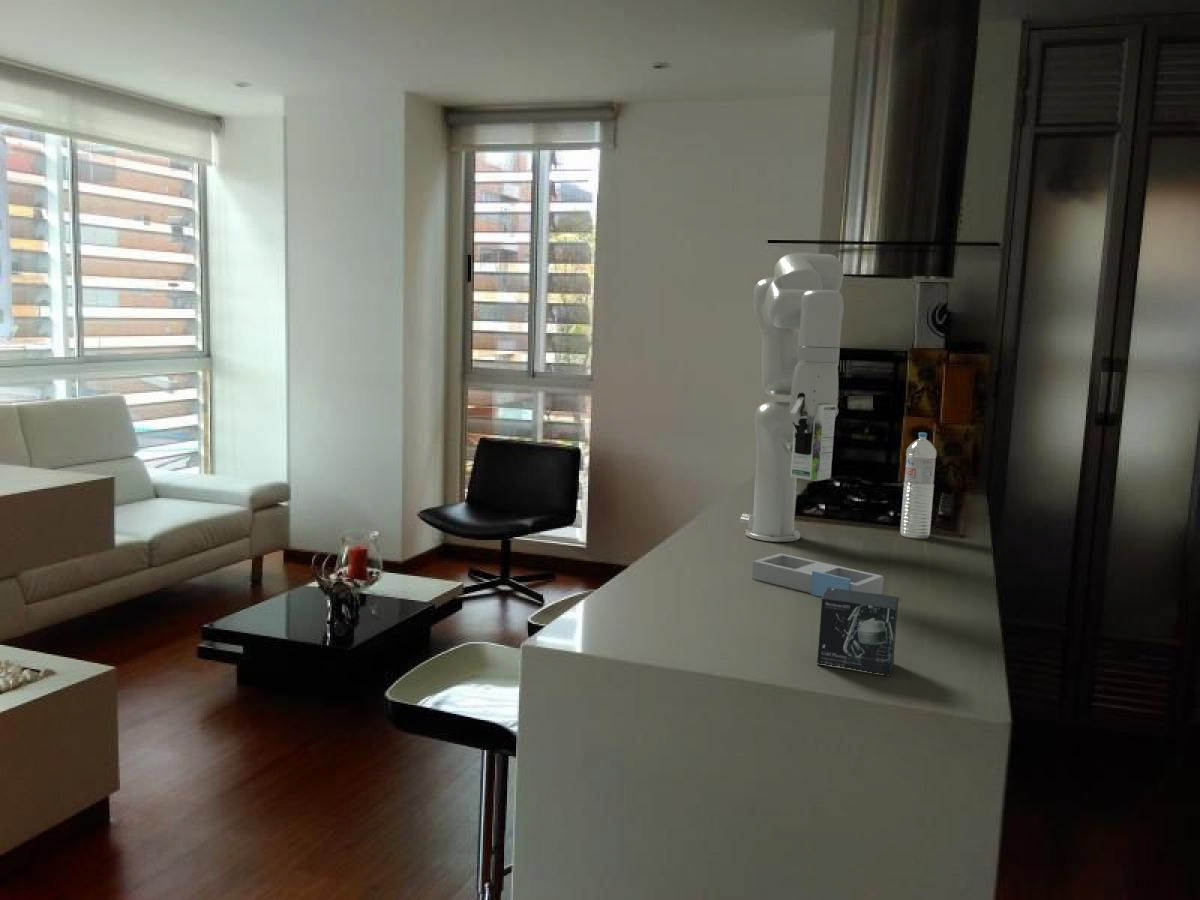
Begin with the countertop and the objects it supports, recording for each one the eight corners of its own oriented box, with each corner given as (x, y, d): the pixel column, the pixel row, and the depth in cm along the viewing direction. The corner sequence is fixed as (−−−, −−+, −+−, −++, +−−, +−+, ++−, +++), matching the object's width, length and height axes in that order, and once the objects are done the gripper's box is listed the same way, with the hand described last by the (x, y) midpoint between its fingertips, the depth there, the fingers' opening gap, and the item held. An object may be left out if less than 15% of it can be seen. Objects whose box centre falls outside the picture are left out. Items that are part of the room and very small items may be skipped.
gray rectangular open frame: (750, 579, 187) (751, 557, 186) (779, 570, 194) (780, 548, 194) (854, 605, 172) (856, 581, 171) (882, 594, 179) (883, 571, 179)
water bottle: (931, 540, 226) (940, 435, 223) (901, 538, 227) (909, 433, 224) (927, 534, 233) (936, 432, 229) (898, 532, 234) (906, 430, 231)
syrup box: (789, 477, 182) (793, 401, 180) (806, 474, 186) (810, 400, 184) (815, 481, 178) (820, 404, 176) (832, 478, 182) (837, 402, 180)
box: (815, 666, 141) (820, 597, 139) (822, 652, 147) (826, 586, 145) (891, 678, 137) (896, 607, 135) (894, 663, 143) (899, 595, 141)
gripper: (825, 355, 188) (819, 447, 190) (775, 356, 175) (769, 453, 178) (859, 357, 182) (853, 451, 185) (811, 358, 170) (804, 458, 173)
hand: (812, 451), depth 181 cm, fingers closed on syrup box, 5 cm apart
